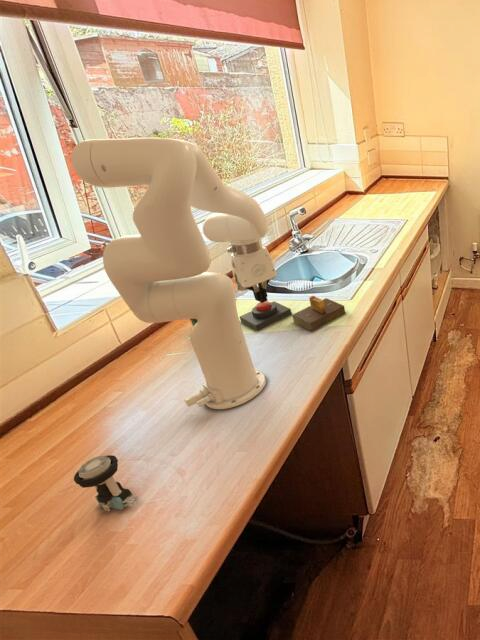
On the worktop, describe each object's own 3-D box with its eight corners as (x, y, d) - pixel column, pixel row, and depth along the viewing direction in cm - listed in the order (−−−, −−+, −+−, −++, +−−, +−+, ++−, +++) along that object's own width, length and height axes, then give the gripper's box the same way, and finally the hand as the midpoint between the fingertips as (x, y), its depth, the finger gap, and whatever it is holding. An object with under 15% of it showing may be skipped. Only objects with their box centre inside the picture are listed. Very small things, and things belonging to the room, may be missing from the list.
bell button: (261, 313, 123) (260, 308, 122) (255, 309, 124) (253, 304, 124) (273, 307, 125) (271, 303, 125) (266, 304, 127) (265, 299, 126)
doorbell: (257, 331, 120) (254, 320, 118) (241, 322, 124) (237, 311, 122) (291, 314, 129) (289, 303, 127) (275, 306, 133) (272, 296, 131)
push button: (150, 492, 73) (129, 454, 69) (120, 521, 69) (96, 482, 65) (119, 487, 74) (97, 449, 70) (87, 515, 69) (61, 476, 65)
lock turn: (325, 311, 125) (323, 299, 123) (321, 313, 124) (319, 301, 122) (315, 306, 127) (313, 295, 126) (311, 308, 126) (309, 297, 125)
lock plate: (312, 331, 120) (310, 323, 119) (294, 322, 124) (291, 314, 123) (345, 313, 130) (343, 305, 128) (327, 305, 134) (326, 297, 132)
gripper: (226, 258, 109) (243, 315, 116) (279, 241, 120) (292, 293, 128) (212, 252, 112) (230, 308, 120) (265, 236, 124) (278, 287, 131)
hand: (262, 300), depth 124 cm, fingers closed
